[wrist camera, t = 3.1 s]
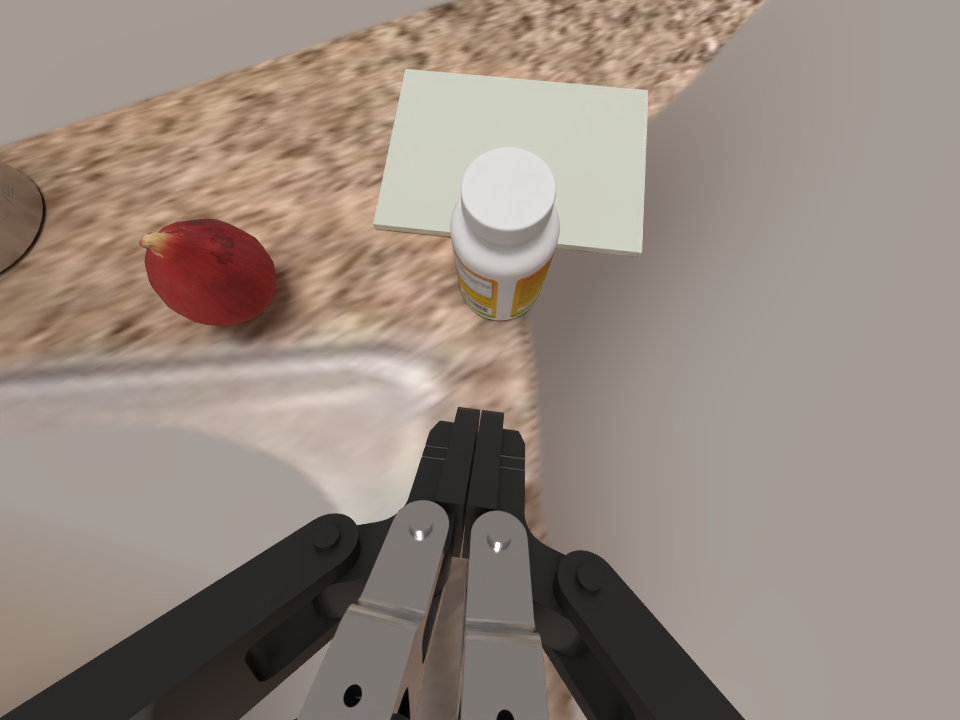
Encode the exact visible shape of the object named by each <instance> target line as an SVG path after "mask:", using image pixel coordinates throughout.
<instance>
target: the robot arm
mask: <svg viewBox="0 0 960 720" xmlns="http://www.w3.org/2000/svg"><path fill="white" fill-rule="evenodd" d="M42 211H43V204H42V199H41V195H40V193H39V191H38V189H37V187H36V185H35V184H34V183H33V182H32V181H31V180H30V178H29V177H27V176H25V175H24V174H22V173H20V172H19V171H17V170H15V169H14V168H12V167H10V166H8V165H7V164H5V163H3V162H2V161H0V272H1V271H3V270H4V269H6V268H7V267H9V266H10V265H12V264H13V263H14V262H15V261H16V260H17V259H18V258H19V257H20V256H21V255H23V253H24V252H25V251H26V249H27V248H28V247H29V246H30V244H31V243H32V241H33V239H34V238H35V236H36V234H37V232H38V230H39V226H40V223H41V220H42ZM479 419H480V410H478V409H470V408H463V407H458V409H457V413H456V417H455V421H454V423H453V422H446V421H439V422H438V423H437V424H436V425H435V426H434V427H433V428H432V430H431V431H430V432H429V436H428V439H427V442H426V446H425V448H424V451H423V455H422V458H421V461H420V464H419V467H418V470H417V473H416V477H415V480H414V483H413V486H412V489H411V492H410V495H409V498H408V501H407V503H406V504H405V506H404V507H403V508H402V509H400V510H399V512H398V513H397V514H395V515H394V516H392V517H390V518H389V519H386V520H383V521H379V522H374V523H368V524H362V525H356V524H355V522H354V521H353V520H352V519H351V518H350V517H348V516H346V515H343V514H327V515H323V516H321V517H318V518H317V519H315V520H313V521H311V522H310V523H308V524H307V525H305V526H304V527H302V528H300V529H299V530H297V531H295V532H294V533H293V534H291V535H289V536H288V537H286V538H284V539H283V540H281V541H280V542H278V543H277V544H275V545H273V546H272V547H270V548H269V549H267V550H265V551H264V552H262V553H261V554H259V555H257V556H256V557H254V558H253V559H251V560H250V561H248V562H246V563H245V564H243V565H242V566H240V567H239V568H237V569H236V570H234V571H232V572H231V573H229V574H227V575H226V576H224V577H223V578H221V579H220V580H218V581H216V582H215V583H213V584H211V585H210V586H208V587H207V588H205V589H204V590H202V591H200V592H199V593H197V594H196V595H194V596H192V597H191V598H189V599H188V600H186V601H185V602H183V603H181V604H180V605H178V606H177V607H175V608H173V609H172V610H170V611H169V612H167V613H166V614H164V615H162V616H161V617H159V618H158V619H156V620H154V621H153V622H152V623H150V624H148V625H146V626H145V627H143V628H142V629H141V630H139V631H137V632H135V633H134V634H132V635H131V636H129V637H128V638H126V639H124V640H123V641H121V642H120V643H118V644H116V645H115V646H113V647H112V648H110V649H108V650H107V651H105V652H104V653H102V654H101V655H99V656H98V657H96V658H94V659H93V660H91V661H90V662H88V663H87V664H85V665H83V666H82V667H80V668H78V669H77V670H75V671H74V672H72V673H71V674H69V675H67V676H66V677H64V678H63V679H61V680H59V681H58V682H56V683H55V684H53V685H51V686H50V687H48V688H47V689H45V690H43V691H42V692H40V693H39V694H37V695H36V696H34V697H32V698H31V699H29V700H28V701H26V702H24V703H23V704H21V705H20V706H18V707H17V708H15V709H13V710H12V711H10V712H9V713H7V714H6V715H4V716H2V717H1V718H0V720H239V719H240V718H241V717H242V716H244V715H245V714H246V713H247V712H248V711H249V710H251V708H253V707H254V706H255V705H256V704H257V703H259V702H260V701H261V700H262V699H263V698H264V697H266V696H267V695H268V694H269V693H270V692H271V691H272V690H274V689H275V688H276V687H277V686H278V685H279V684H281V682H283V681H284V680H285V679H286V678H288V677H289V676H290V675H291V674H292V673H293V672H294V671H296V670H297V669H298V668H299V667H300V666H301V665H303V664H304V663H305V662H306V661H307V660H308V659H309V658H311V657H312V656H313V655H314V654H315V653H316V652H318V651H319V650H320V649H321V648H322V647H323V646H325V645H326V644H327V643H328V642H329V641H330V640H331V639H333V640H332V642H331V644H330V647H329V649H328V651H327V653H326V656H325V658H324V660H323V662H322V665H321V667H320V669H319V671H318V674H317V676H316V678H315V681H314V682H313V685H312V687H311V689H310V692H309V694H308V696H307V698H306V700H305V703H304V705H303V707H302V709H301V712H300V714H299V717H298V718H296V719H294V720H415V717H416V713H417V708H418V704H419V699H420V695H421V690H422V684H423V678H424V672H425V667H426V663H427V659H428V655H429V651H430V647H431V643H432V639H433V635H434V631H435V627H436V623H437V619H438V615H439V611H440V607H441V603H442V599H443V595H444V591H445V586H446V582H447V580H448V576H449V571H450V565H451V559H452V556H453V557H460V553H461V546H462V540H463V533H464V543H463V554H462V558H468V565H467V575H466V584H465V595H464V611H463V627H462V643H461V659H460V674H459V687H458V700H457V714H456V720H549V716H548V705H547V694H546V683H545V672H544V661H543V651H542V647H543V649H544V651H545V653H546V654H547V656H548V657H549V659H550V661H551V662H552V664H553V665H554V667H555V669H556V670H557V672H558V673H559V675H560V677H561V678H562V680H563V681H564V683H565V685H566V686H567V688H568V689H569V691H570V693H571V694H572V696H573V697H574V699H575V701H576V702H577V704H578V705H579V707H580V709H581V710H582V712H583V713H584V715H585V716H586V718H587V720H745V719H744V718H743V717H742V716H741V715H740V713H739V712H738V711H737V710H736V709H735V708H734V707H733V705H732V704H731V703H730V702H729V701H728V700H727V699H726V697H725V696H724V695H723V694H722V693H721V692H720V691H719V690H718V688H717V687H716V686H715V685H714V684H713V683H712V682H711V680H710V679H709V678H708V677H707V676H706V675H705V674H704V672H703V671H702V670H701V669H700V668H699V667H698V665H696V663H695V662H694V661H693V660H692V659H691V657H690V656H689V655H688V654H687V653H686V652H685V651H684V649H683V648H682V647H681V646H680V645H679V644H678V643H677V641H676V640H675V639H674V638H673V637H672V636H671V635H670V633H669V632H668V631H667V630H666V629H665V628H664V627H663V625H662V624H661V623H660V622H659V621H658V620H657V619H656V618H655V616H654V615H653V614H652V613H651V612H650V611H649V609H648V608H647V607H646V606H645V605H644V604H643V603H642V602H641V600H640V599H639V598H638V597H637V596H636V595H635V594H634V592H633V591H632V590H631V589H630V588H629V587H628V586H627V584H626V583H625V582H624V581H623V580H622V579H621V578H620V576H619V575H618V574H617V573H616V572H615V571H614V570H613V568H612V567H611V566H610V565H609V564H608V563H607V562H606V561H605V560H604V559H602V558H601V557H600V556H598V555H596V554H594V553H591V552H588V551H582V550H580V551H573V552H570V553H568V554H567V555H564V554H562V553H560V552H558V551H556V550H554V549H552V548H549V547H547V546H546V545H544V544H542V543H541V542H540V541H538V540H537V539H536V538H535V537H534V536H533V534H532V533H531V532H530V530H529V528H528V526H527V524H526V521H525V514H524V510H525V443H524V441H523V439H522V437H521V435H520V433H519V431H515V430H507V429H503V420H504V413H502V412H494V411H487V410H482V413H481V419H480V426H479ZM478 428H479V432H478ZM465 520H466V521H465ZM464 527H465V532H464Z"/></svg>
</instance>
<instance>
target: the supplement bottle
mask: <svg viewBox="0 0 960 720" xmlns="http://www.w3.org/2000/svg"><path fill="white" fill-rule="evenodd" d="M555 198H556V182H555V178H554V175H553V173H552V171H551V169H550V167H549V166H548V165H547V164H546V162H545V161H544V160H542V159H541V158H540V157H539V156H537V155H536V154H534V153H532V152H530V151H528V150H524V149H521V148H516V147H502V148H496V149H492V150H490V151H487V152H485V153H483V154H481V155H480V156H478V157H477V158H476V159H474V160H473V162H472V163H471V164H470V165H469V166H468V167H467V169H466V171H465V173H464V175H463V178H462V182H461V197H460V198H459V200H458V201H457V203H456V205H455V207H454V209H453V212H452V216H451V222H450V232H451V241H452V246H453V251H454V257H455V263H456V269H457V274H458V280H459V285H460V290H461V293H462V296H463V298H464V300H465V301H466V303H467V304H468V306H469V307H470V308H471V309H472V310H473V311H475V312H476V313H477V314H479V315H481V316H483V317H485V318H488V319H492V320H509V319H513V318H516V317H518V316H520V315H522V314H523V313H525V312H526V311H527V310H529V309H530V308H531V307H532V306H533V304H534V303H535V301H536V300H537V298H538V295H539V293H540V291H541V288H542V285H543V282H544V280H545V277H546V274H547V271H548V268H549V266H550V263H551V260H552V257H553V255H554V252H555V249H556V246H557V243H558V239H559V233H560V221H559V216H558V212H557V210H556V207H555V205H554V202H555Z"/></svg>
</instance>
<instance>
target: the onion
mask: <svg viewBox="0 0 960 720" xmlns="http://www.w3.org/2000/svg"><path fill="white" fill-rule="evenodd" d="M139 243H140V245H141V246H142V247H143V248H146V249H147V251H146V255H145V266H146V270H147V275H148V279H149V282H150V284H151V286H152V288H153V289H154V290H155V291H156V293H157V294H158V295H159V296H160V298H161V299H162V300H163V301H164V303H165V304H166V305H167V306H168V307H169V308H171V309H172V310H174V311H175V312H177V313H178V314H180V315H182V316H184V317H186V318H188V319H190V320H192V321H194V322H197V323H201V324H205V325H215V326H230V325H234V324H238V323H242V322H246V321H248V320H250V319H252V318H254V317H255V316H257V315H258V314H260V313H261V312H263V311H264V310H265V309H266V307H267V306H268V305H269V303H270V302H271V301H272V299H273V296H274V292H275V289H276V277H275V270H274V264H273V261H272V259H271V258H270V256H269V255H268V253H267V252H266V250H265V249H264V247H263V246H262V245H261V244H260V243H259V241H258V240H257V239H256V238H255V237H253V236H251V235H250V234H248V233H246V232H245V231H243V230H241V229H239V228H237V227H235V226H233V225H231V224H229V223H226V222H223V221H220V220H216V219H199V220H190V221H181V222H175V223H173V224H170V225H168V226H165V227H163V228H162V229H161V230H160V231H159V232H158V233H155V232H153V233H148V234H146V235H144V236H143V237H142V238H141V240H140V241H139Z"/></svg>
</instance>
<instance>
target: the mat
mask: <svg viewBox="0 0 960 720" xmlns="http://www.w3.org/2000/svg"><path fill="white" fill-rule="evenodd" d="M647 111H648V90H638V89H627V88H616V87H604V86H593V85H582V84H570V83H559V82H548V81H536V80H525V79H514V78H502V77H491V76H480V75H469V74H457V73H446V72H435V71H423V70H412V69H405V74H404V79H403V84H402V88H401V93H400V98H399V103H398V108H397V112H396V117H395V122H394V127H393V132H392V136H391V141H390V146H389V151H388V156H387V160H386V165H385V170H384V175H383V180H382V184H381V189H380V194H379V199H378V204H377V208H376V213H375V218H374V223H373V224H374V226H375V228H376V229H381V230H391V231H400V232H409V233H419V234H428V235H437V236H447V237H451V232H450V222H451V216H452V212H453V209H454V207H455V205H456V203H457V201H458V200H459V198H460V197H461V182H462V178H463V175H464V173H465V171H466V169H467V167H468V166H469V165H470V164H471V163H472V162H473V160H474V159H476V158H477V157H478V156H480V155H481V154H483V153H485V152H487V151H490V150H492V149H496V148H502V147H516V148H521V149H524V150H528V151H530V152H532V153H534V154H536V155H537V156H539V157H540V158H541V159H542V160H544V161H545V162H546V164H547V165H548V166H549V167H550V169H551V171H552V173H553V175H554V178H555V182H556V198H555V202H554V205H555V207H556V210H557V212H558V216H559V221H560V233H559V239H558V243H557V246H556V248H558V249H568V250H577V251H586V252H596V253H606V254H614V255H624V256H633V257H639V256H640V254H641V253H642V237H643V213H644V187H645V161H646V137H647V135H646V134H647Z"/></svg>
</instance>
